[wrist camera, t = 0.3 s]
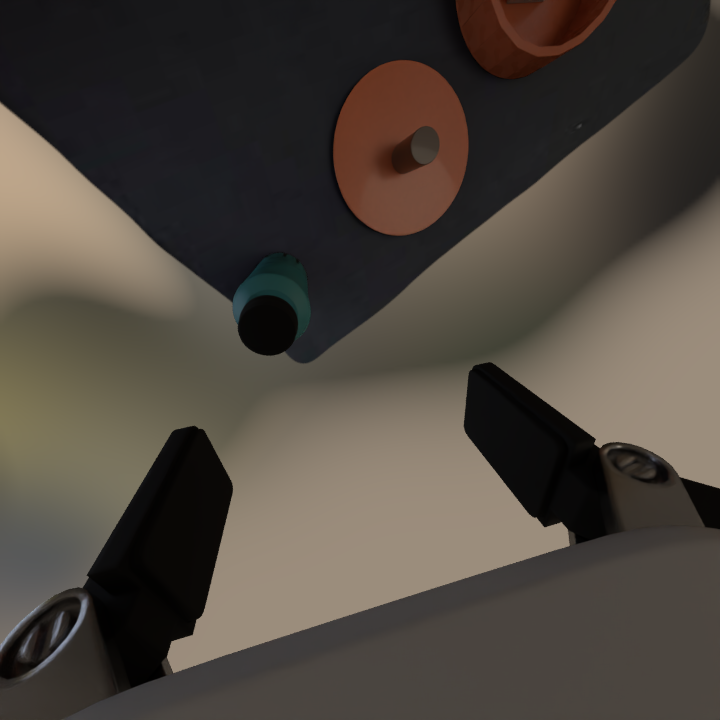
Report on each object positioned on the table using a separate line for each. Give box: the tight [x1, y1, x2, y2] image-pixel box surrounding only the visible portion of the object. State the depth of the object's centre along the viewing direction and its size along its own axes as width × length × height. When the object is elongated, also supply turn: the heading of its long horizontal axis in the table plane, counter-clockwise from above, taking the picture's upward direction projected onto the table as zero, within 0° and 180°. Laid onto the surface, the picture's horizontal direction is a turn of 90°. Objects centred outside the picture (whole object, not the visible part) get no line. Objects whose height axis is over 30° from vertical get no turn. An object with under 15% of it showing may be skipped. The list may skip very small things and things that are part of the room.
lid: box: [333, 60, 468, 236], centre depth 29 cm, size 16×16×7 cm
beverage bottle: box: [233, 252, 311, 356], centre depth 27 cm, size 6×7×20 cm
